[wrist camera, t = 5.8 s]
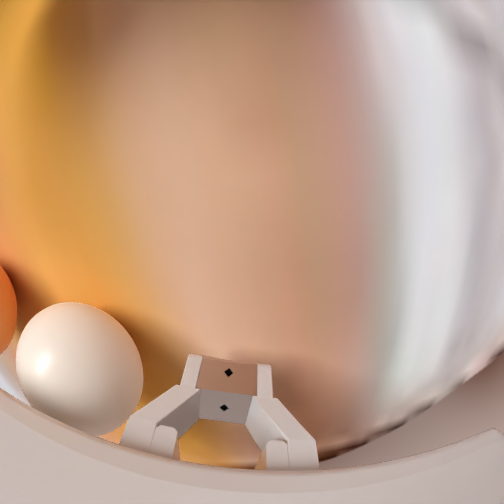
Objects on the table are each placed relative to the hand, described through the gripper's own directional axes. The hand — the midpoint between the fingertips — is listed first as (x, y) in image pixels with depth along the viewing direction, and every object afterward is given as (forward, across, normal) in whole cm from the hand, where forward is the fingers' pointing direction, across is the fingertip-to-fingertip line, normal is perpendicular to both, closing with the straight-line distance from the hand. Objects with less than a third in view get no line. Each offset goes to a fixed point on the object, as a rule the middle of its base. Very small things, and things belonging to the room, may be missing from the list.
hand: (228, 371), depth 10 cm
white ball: (-1, +6, +1) cm, 6 cm away
